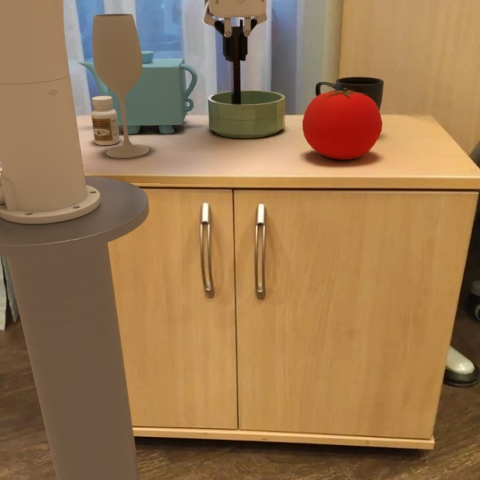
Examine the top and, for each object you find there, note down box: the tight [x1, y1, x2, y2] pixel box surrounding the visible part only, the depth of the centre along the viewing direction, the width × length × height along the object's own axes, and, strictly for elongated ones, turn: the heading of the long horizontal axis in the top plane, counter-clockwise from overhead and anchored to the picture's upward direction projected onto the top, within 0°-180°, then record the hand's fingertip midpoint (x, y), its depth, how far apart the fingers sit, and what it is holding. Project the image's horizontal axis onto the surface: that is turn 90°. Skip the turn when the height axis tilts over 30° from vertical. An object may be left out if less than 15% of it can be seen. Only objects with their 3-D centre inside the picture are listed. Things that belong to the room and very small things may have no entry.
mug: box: [314, 76, 385, 113], centre depth 107 cm, size 8×12×10 cm
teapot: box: [77, 50, 198, 135], centre depth 114 cm, size 22×11×14 cm, turn 89°
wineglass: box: [91, 13, 150, 159], centre depth 97 cm, size 8×8×21 cm
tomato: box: [301, 88, 383, 161], centre depth 95 cm, size 11×12×10 cm
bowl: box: [207, 89, 286, 139], centre depth 113 cm, size 14×14×6 cm
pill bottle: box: [90, 95, 121, 146], centre depth 106 cm, size 4×4×8 cm
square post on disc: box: [230, 25, 243, 105], centre depth 109 cm, size 4×4×16 cm
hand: (235, 59), depth 108 cm, fingers closed on square post on disc, 1 cm apart
